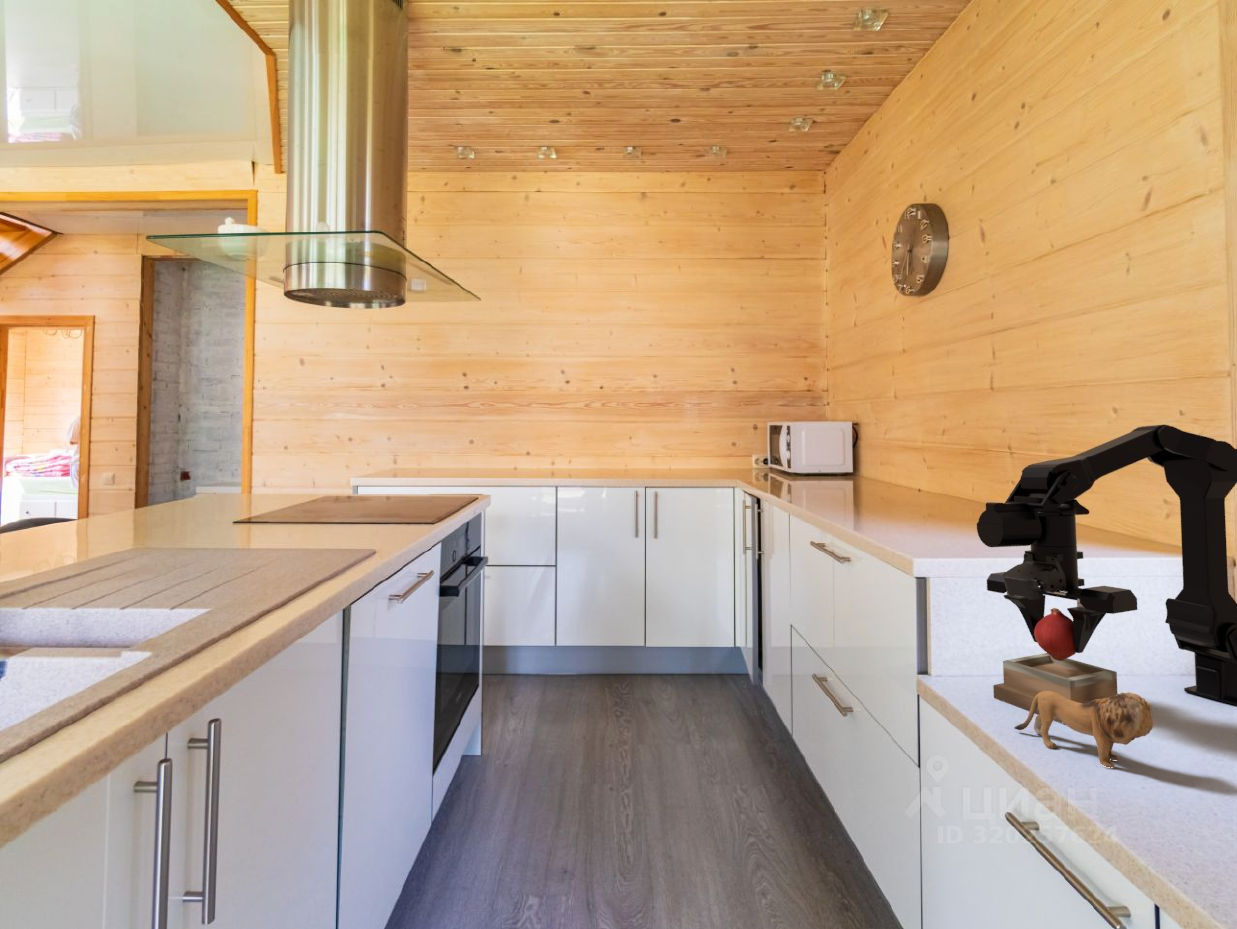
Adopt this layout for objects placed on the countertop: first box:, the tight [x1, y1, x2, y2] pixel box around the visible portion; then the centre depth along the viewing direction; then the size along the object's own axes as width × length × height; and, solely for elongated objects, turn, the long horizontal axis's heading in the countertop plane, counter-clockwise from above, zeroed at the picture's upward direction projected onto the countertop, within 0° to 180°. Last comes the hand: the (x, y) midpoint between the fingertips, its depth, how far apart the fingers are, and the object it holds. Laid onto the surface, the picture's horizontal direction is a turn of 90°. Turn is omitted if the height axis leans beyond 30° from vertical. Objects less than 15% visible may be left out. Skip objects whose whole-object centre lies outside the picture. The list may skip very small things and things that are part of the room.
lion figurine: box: [1014, 691, 1155, 768], centre depth 75 cm, size 15×5×9 cm, turn 36°
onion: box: [1034, 607, 1077, 661], centre depth 89 cm, size 6×6×8 cm
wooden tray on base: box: [992, 652, 1118, 723], centre depth 89 cm, size 12×12×6 cm
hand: (1057, 647), depth 89 cm, fingers closed on onion, 6 cm apart
